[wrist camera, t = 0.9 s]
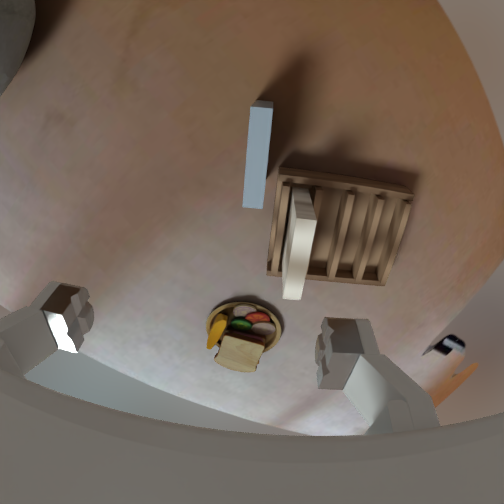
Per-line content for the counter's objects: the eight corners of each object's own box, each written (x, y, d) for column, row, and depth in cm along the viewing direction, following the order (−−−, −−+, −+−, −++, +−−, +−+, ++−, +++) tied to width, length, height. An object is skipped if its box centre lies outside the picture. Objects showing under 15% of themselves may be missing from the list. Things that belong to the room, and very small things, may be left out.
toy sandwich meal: (294, 314, 51) (296, 335, 47) (259, 361, 57) (258, 381, 53) (222, 286, 49) (218, 306, 44) (196, 339, 55) (190, 358, 51)
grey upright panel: (256, 99, 34) (250, 106, 26) (273, 101, 34) (273, 108, 26) (249, 178, 39) (242, 206, 32) (265, 180, 39) (262, 209, 32)
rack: (278, 166, 38) (280, 196, 29) (405, 186, 38) (438, 219, 29) (267, 262, 45) (264, 310, 37) (378, 273, 45) (398, 319, 37)
